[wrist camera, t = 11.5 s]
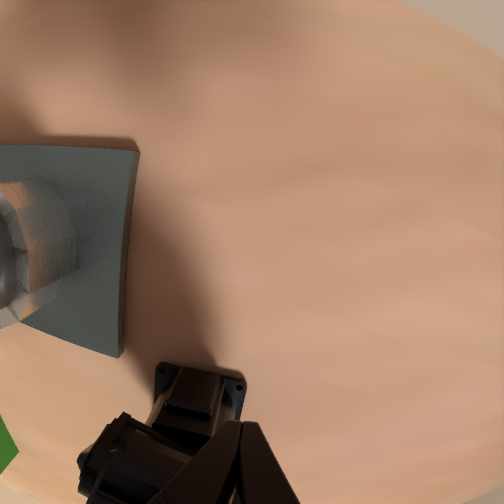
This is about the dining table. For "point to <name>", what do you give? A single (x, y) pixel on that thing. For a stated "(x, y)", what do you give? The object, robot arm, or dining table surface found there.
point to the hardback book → (6, 447)
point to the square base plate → (69, 240)
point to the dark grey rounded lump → (6, 265)
